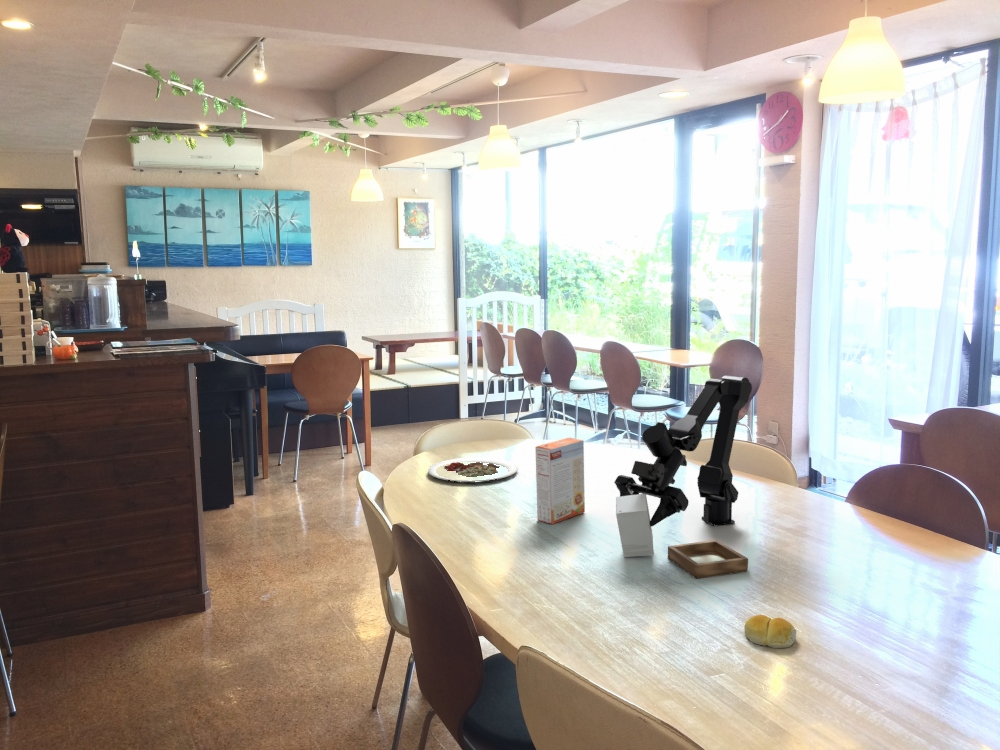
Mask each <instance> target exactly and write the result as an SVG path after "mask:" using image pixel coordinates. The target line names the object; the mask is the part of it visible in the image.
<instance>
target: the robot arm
mask: <svg viewBox="0 0 1000 750" xmlns="http://www.w3.org/2000/svg"><path fill="white" fill-rule="evenodd" d="M704 383H705V384H704V388H703V389H702V390H701V392H700V393H699V395H698V396H697V397H696V399H695V401H694V402H693V403H692V406H691V407H690V408H689V410H688V411H687V413H686V414H685V415H684V416H683V417H682V418H679V419H677V420H676V421H674V423H673V424H672V425H671V426H670V427H669V428H668V427H667V425H666V423H665V422H660V421H657V422H656V424H654V425H651V426H650V427H648V428H646V429H645V430H644V431H643V433H642V436H641V438H642V441H643V443H644V444H645V446H646V447H647V448H648V450H649V452H650V453H651V454H652V456H653V457H655V458H656V459H655V461H654V463H648V462H643V461H639V460H635V461H634V463H633V466H632V469H631V472H630V473H631V474H632V475H635V476H637V477H638V478H637V480H638V481H639V482H640V483H641V484H638V483H637V481H636V480H635V479H634V478H633V477H631V476H629V475H628V476H627V475H625V474H620V475H618V476H617V477H616V478H615V480H614V482H613V483H614V484H615V486H616V488H617V490H618V492H619V497H621V496H629V495H638V494H646V496H651V497H654V498H658V499H660V500H659V505H658V506H657V507H656V510H655V511H654V513H653V515H652V516H651V517H650V526H651V527H654V526H656V525H657V524H659V523H660V522H661V521H663V520H665V519H667V518H668V517H670V516H672V515H674V514H677V513H678V514H679V513H681V511H682V512H686V510H687V508H688V506H689V499H688V497H687V496H686V494H685V493H684V491H683V489H681V488H680V487H675V486H671V485H674V484H675V482H676V480H675V475H676V474H677V472H678V470H679V468H680V467H681V466H683V467H687V465H688V462H687V458H686V457H687V456H686V455H685V454H683V453H682V451H684V452H694V451H695V450H696V449H697V447H698V446H699V444H700V442H701V439H702V437H703V433H702V432H703V430H702V429H703V427H704V425H705V423H706V422H707V421H708V419H709V417H710V416H711V414H712V413H713V411H714V409H715V408H716V407H717V405H718V404H719V407H720V408H719V413H718V418H717V423H716V428H715V433H714V437H713V443H712V447H711V452H710V457H709V460H708V461H707V462H706V463H705V464H701V465H700V467H699V472H698V473H699V474H698V476H697V479H696V480H697V488H698V492H699V497H700V498H704V504H703V515H702V516H701V519H702V520H704V522H705V521H706V522H707V523H708V524H710V525H712V526H721V525H730V524H735V522H736V521H735V520H734V519H732V516H733V515H732V513H733V512H732V511H733V508H732V507H733V504H735V503H736V501H737V500H738V497H739V491H738V490H737V488H736V487H735V485H734V483H733V477H734V476H733V473H732V470H731V467H730V459H731V455H732V450H733V444H734V439H735V435H736V429H737V424H738V419H739V415H740V411H741V410H742V408H744V407H745V406H746V405H747V403H748V402H749V398H750V395H751V393H752V391H753V390H752V389H753V386H752V383H751V382H750V380H749V378H748V377H743V376H733V375H723V376H722V377H720V378H708V379H707V380H706V381H705V382H704Z"/></svg>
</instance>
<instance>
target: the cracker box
mask: <svg viewBox="0 0 1000 750" xmlns="http://www.w3.org/2000/svg"><path fill="white" fill-rule="evenodd" d="M584 446H585V445H584V440H583V439H577V438H574V437H567V438H562V439H558V440H555V441H552V442H547V443H544V444H540V445H537V446H535V475H536V476H535V478H536V483H535V484H536V509H537V510H536V511H537V521H539V522H543V523H546V524H550V525H555V524H557V523H561V522H562V521H565V520H567V519H571V518H573V517H576V516H579V515H581V514H583V513H586V512H585V511H586V510H585V508H586V507H585V504H586V503H585V458H584V457H585V456H584V455H585V454H584V453H585V452H584V451H585V449H584Z"/></svg>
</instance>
